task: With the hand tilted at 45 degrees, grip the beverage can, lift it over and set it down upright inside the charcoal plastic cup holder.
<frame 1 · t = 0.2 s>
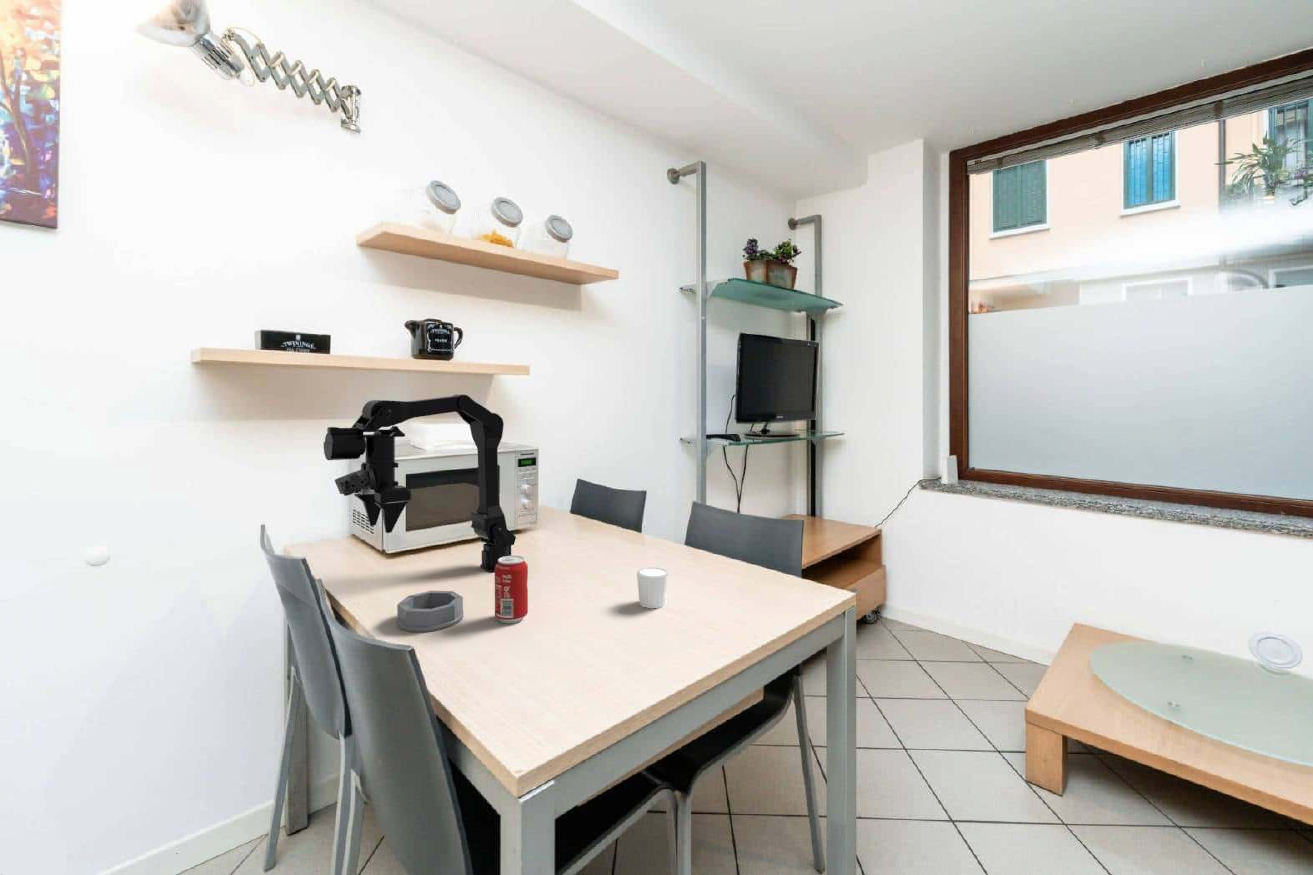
hand: (380, 529, 121), 15 cm above the table, tool pointing down, fingers open, 9 cm apart
white cup: (652, 604, 119), on the table
cup holder: (430, 619, 108), on the table
beverage can: (511, 619, 110), on the table
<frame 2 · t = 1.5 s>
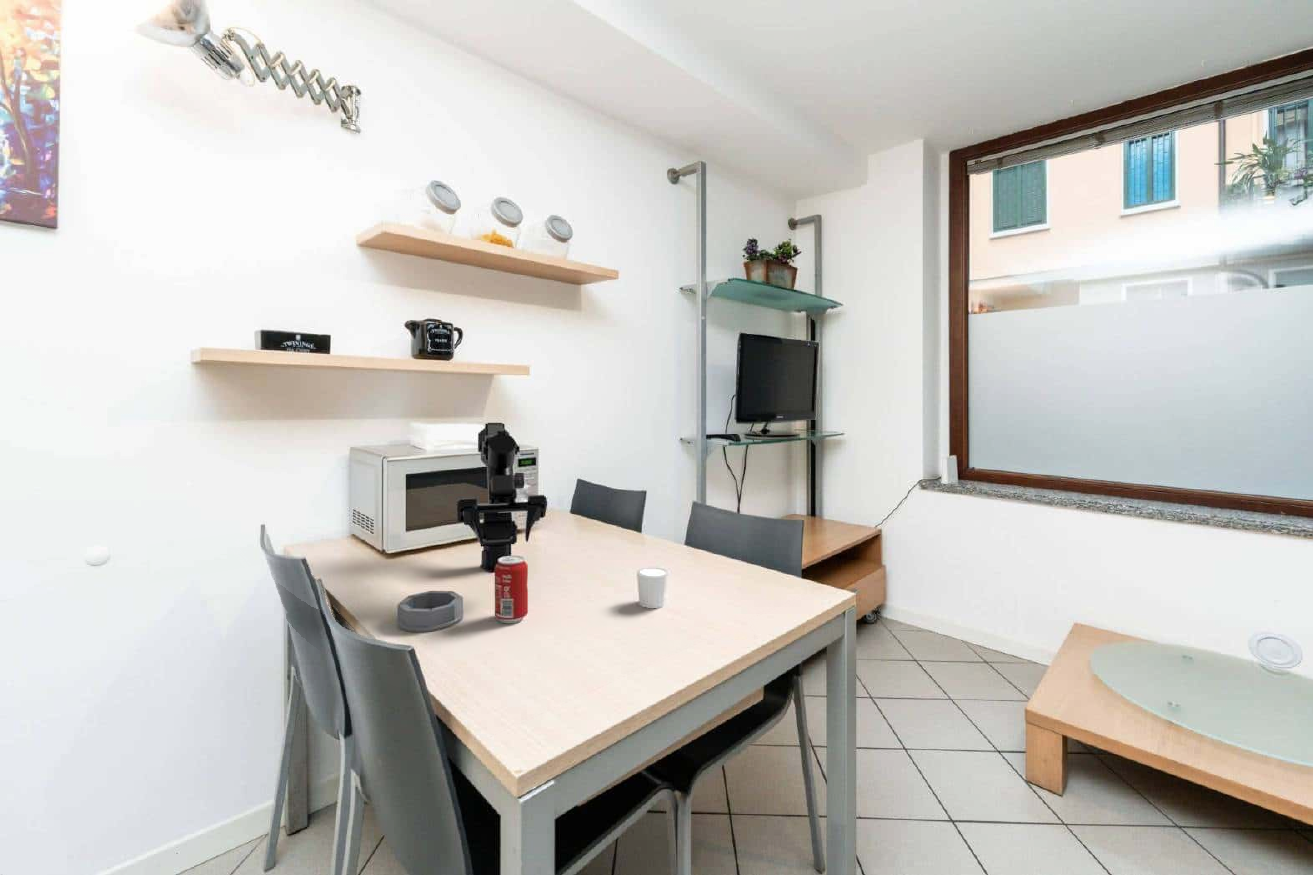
hand: (504, 542, 116), 13 cm above the table, tool tilted 45°, fingers open, 9 cm apart
nothing on the table moved.
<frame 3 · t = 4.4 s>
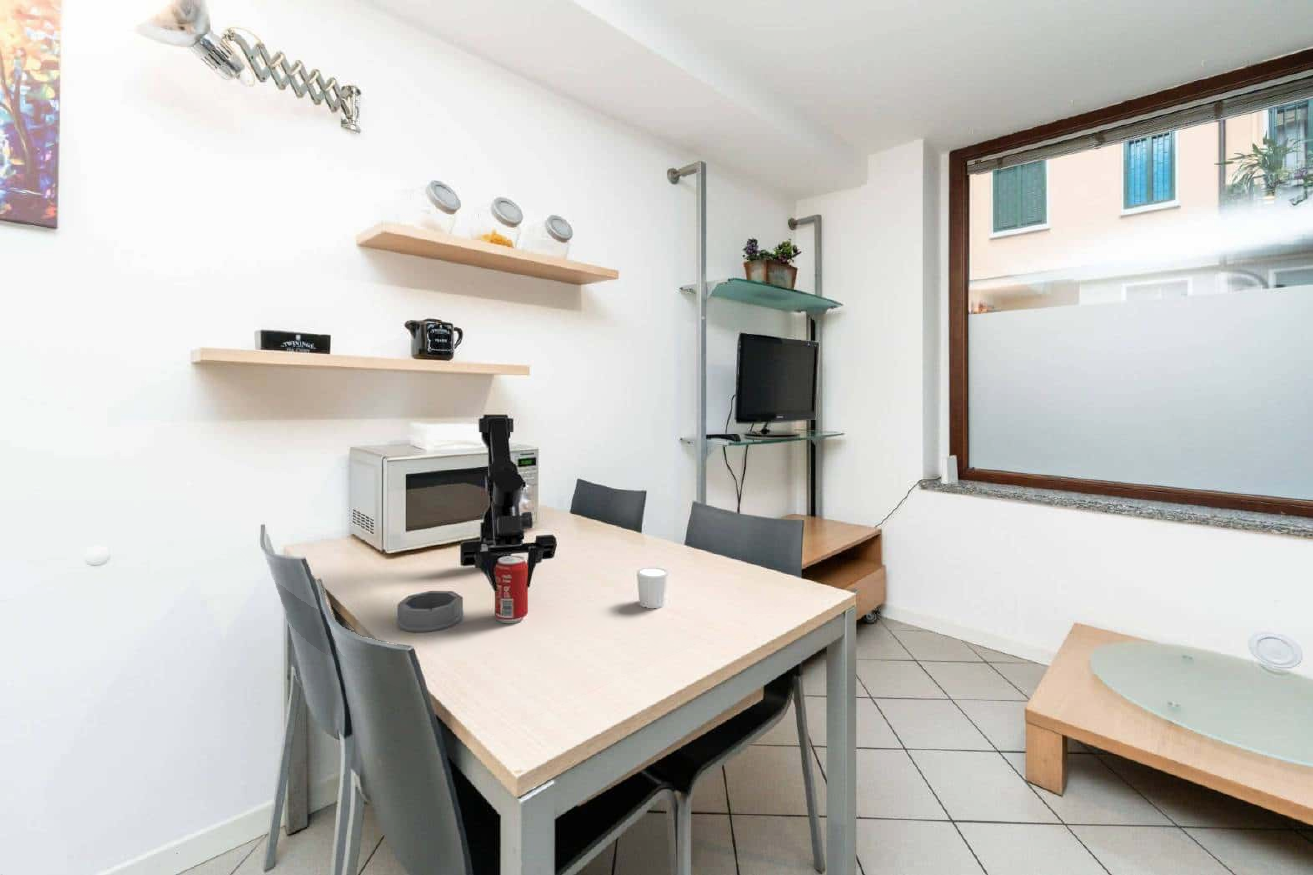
hand: (512, 588, 108), 7 cm above the table, tool tilted 45°, fingers closed on beverage can, 6 cm apart
beverage can: (511, 619, 110), on the table, touching gripper
everything else where it was.
when the fingers open (9 cm above the table, at t = 8.9 s): beverage can drops 1 cm, resting on cup holder.
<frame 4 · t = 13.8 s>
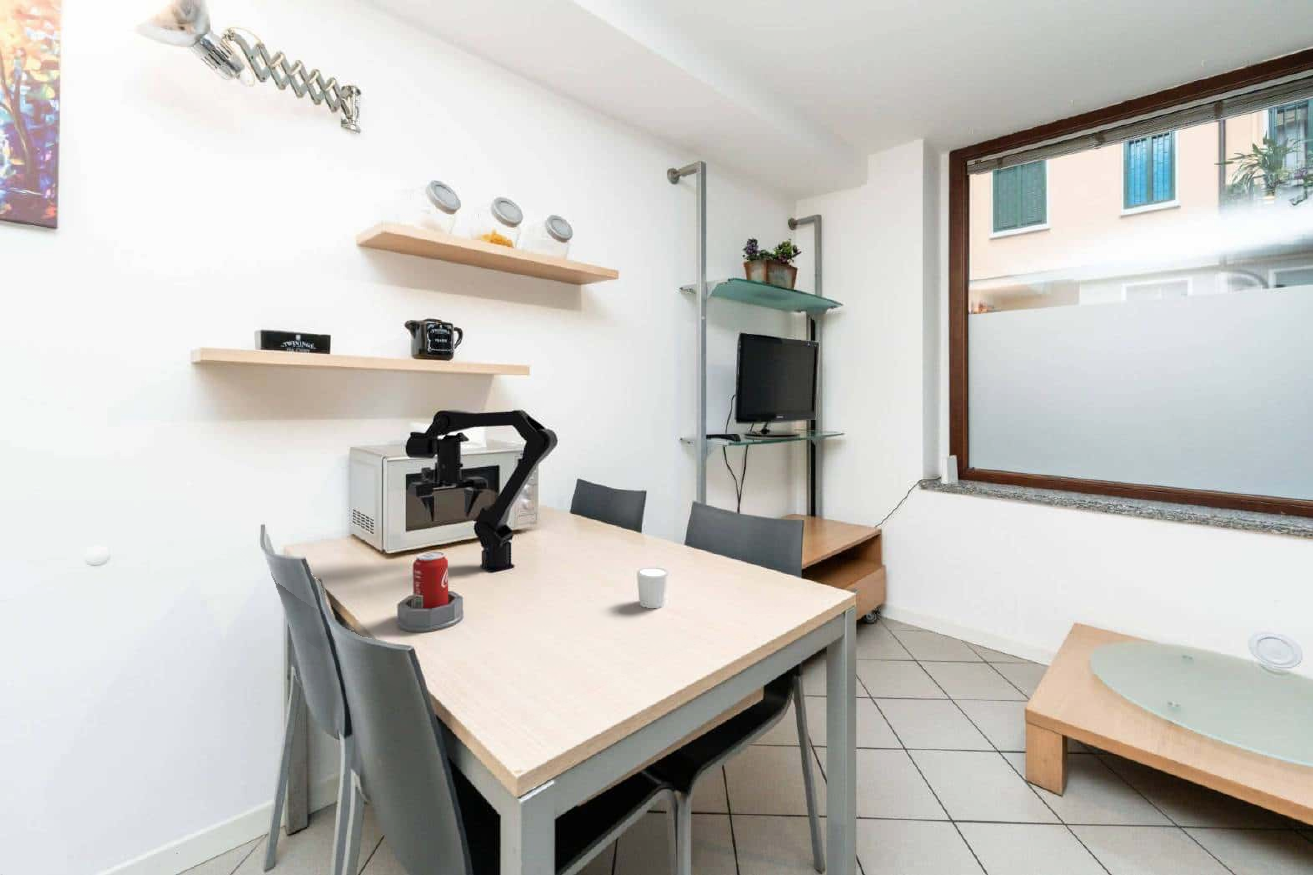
hand: (449, 519, 143), 12 cm above the table, tool pointing down, fingers open, 9 cm apart
beverage can: (431, 616, 109), point 1 cm above the table, touching cup holder
everything else where it was.
at the end: beverage can 0.1 cm off-centre on the cup holder, point 0.6 cm above the cup holder's base; beverage can tilted 0°; the gripper is holding nothing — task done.
